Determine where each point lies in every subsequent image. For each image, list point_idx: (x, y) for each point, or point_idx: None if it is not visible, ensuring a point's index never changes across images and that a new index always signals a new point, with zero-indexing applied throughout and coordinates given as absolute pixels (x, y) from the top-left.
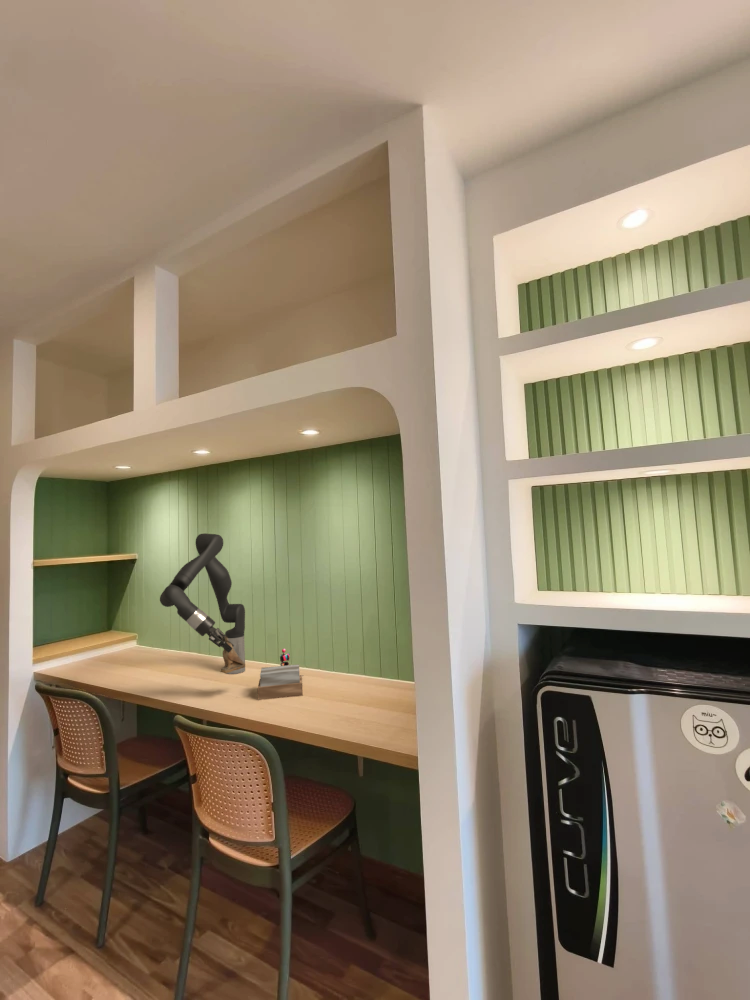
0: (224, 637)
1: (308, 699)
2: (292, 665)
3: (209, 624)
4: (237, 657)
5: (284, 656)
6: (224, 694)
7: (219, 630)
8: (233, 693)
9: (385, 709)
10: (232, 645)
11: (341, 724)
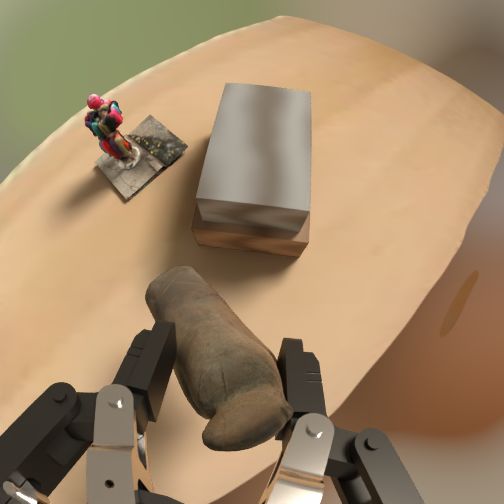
0: (235, 449)
1: (338, 134)
2: (229, 97)
3: None
4: (223, 302)
5: (115, 111)
6: None
7: (9, 486)
8: None
9: (409, 69)
10: (171, 332)
11: (464, 134)
